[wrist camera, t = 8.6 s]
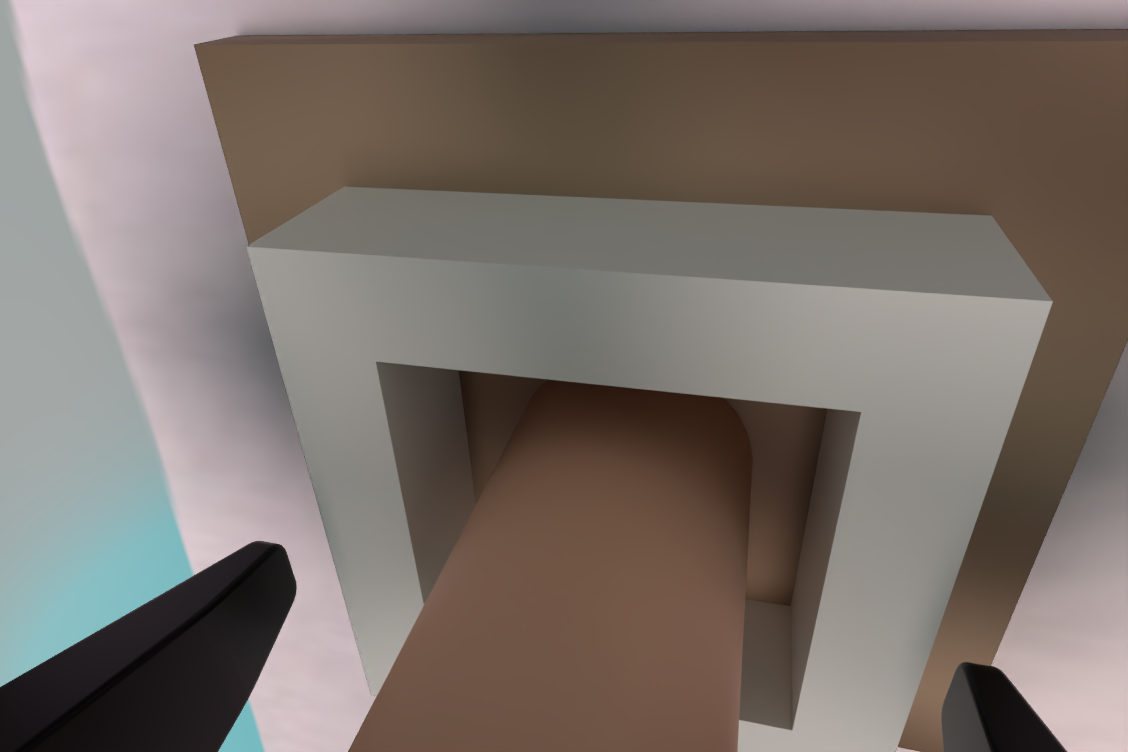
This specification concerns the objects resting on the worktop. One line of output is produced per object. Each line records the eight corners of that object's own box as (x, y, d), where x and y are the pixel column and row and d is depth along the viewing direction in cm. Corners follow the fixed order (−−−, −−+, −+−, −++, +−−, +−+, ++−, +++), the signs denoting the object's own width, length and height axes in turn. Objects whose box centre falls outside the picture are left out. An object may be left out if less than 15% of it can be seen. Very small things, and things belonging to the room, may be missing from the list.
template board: (942, 712, 15) (980, 896, 12) (376, 606, 18) (300, 735, 15) (1208, 29, 8) (1430, 84, 6) (236, 35, 11) (52, 74, 9)
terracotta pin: (741, 558, 13) (701, 1203, 7) (527, 525, 14) (304, 1065, 7) (764, 368, 11) (741, 1035, 4) (512, 344, 12) (182, 870, 5)
